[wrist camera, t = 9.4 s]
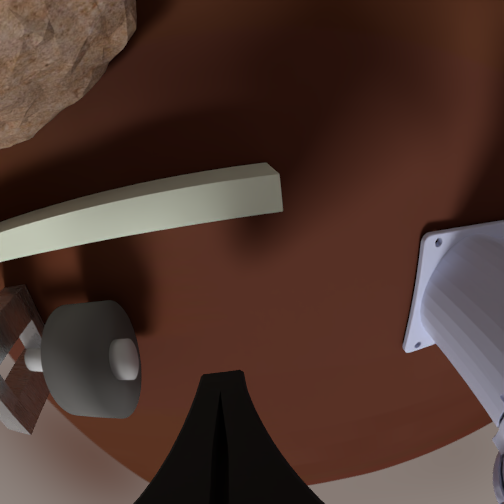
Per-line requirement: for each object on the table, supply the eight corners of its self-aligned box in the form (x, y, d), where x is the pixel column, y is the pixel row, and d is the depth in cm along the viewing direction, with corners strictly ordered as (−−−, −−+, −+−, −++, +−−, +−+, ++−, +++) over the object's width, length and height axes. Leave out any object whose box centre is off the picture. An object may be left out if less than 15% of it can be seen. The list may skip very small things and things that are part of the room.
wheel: (126, 276, 13) (85, 354, 8) (157, 361, 15) (142, 441, 10) (31, 290, 12) (-19, 351, 8) (69, 363, 15) (40, 429, 10)
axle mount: (25, 284, 13) (-34, 352, 7) (64, 361, 15) (31, 435, 10) (4, 287, 13) (-52, 349, 7) (43, 360, 15) (8, 428, 9)
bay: (222, -122, 5) (223, -153, 2) (269, 191, 12) (283, 211, 9) (-31, -19, 4) (-57, -26, 1) (-18, 250, 12) (-48, 273, 9)
